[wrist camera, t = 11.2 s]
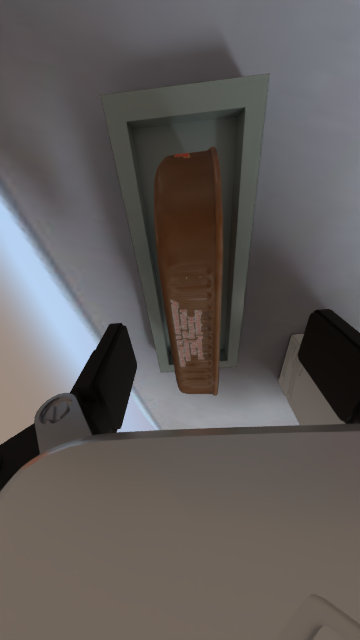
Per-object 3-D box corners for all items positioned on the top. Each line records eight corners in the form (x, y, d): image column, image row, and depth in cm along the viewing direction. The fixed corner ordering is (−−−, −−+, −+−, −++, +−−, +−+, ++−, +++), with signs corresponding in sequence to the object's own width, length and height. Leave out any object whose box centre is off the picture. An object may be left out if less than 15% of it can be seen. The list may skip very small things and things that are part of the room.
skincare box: (320, 377, 26) (452, 553, 13) (274, 380, 26) (361, 557, 14) (346, 326, 21) (585, 527, 9) (288, 330, 21) (442, 533, 9)
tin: (209, 341, 21) (226, 420, 14) (179, 343, 21) (181, 423, 14) (208, 156, 12) (251, 122, 5) (158, 162, 12) (134, 135, 5)
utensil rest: (231, 350, 23) (236, 366, 21) (162, 355, 23) (160, 372, 21) (252, 93, 11) (269, 73, 9) (114, 110, 11) (100, 95, 9)
